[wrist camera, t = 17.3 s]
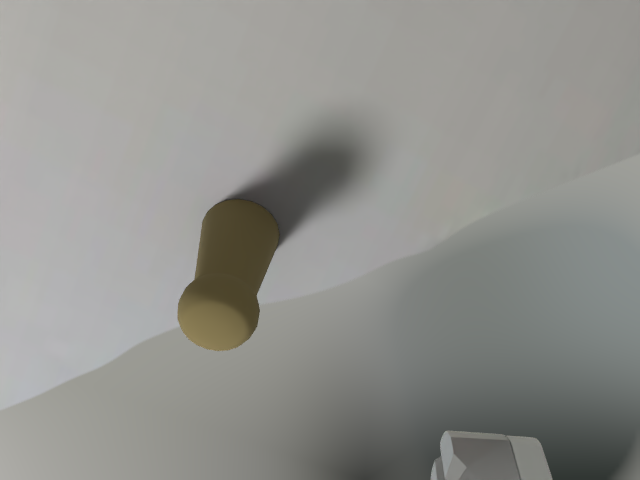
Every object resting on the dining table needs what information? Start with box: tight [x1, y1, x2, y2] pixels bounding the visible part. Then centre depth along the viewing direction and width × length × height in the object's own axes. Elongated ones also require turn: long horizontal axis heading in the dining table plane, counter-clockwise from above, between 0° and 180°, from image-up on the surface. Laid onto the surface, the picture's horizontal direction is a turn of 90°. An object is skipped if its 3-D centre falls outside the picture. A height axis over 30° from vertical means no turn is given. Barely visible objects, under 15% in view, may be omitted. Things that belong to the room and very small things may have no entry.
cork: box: [178, 199, 280, 351], centre depth 41 cm, size 6×6×11 cm
